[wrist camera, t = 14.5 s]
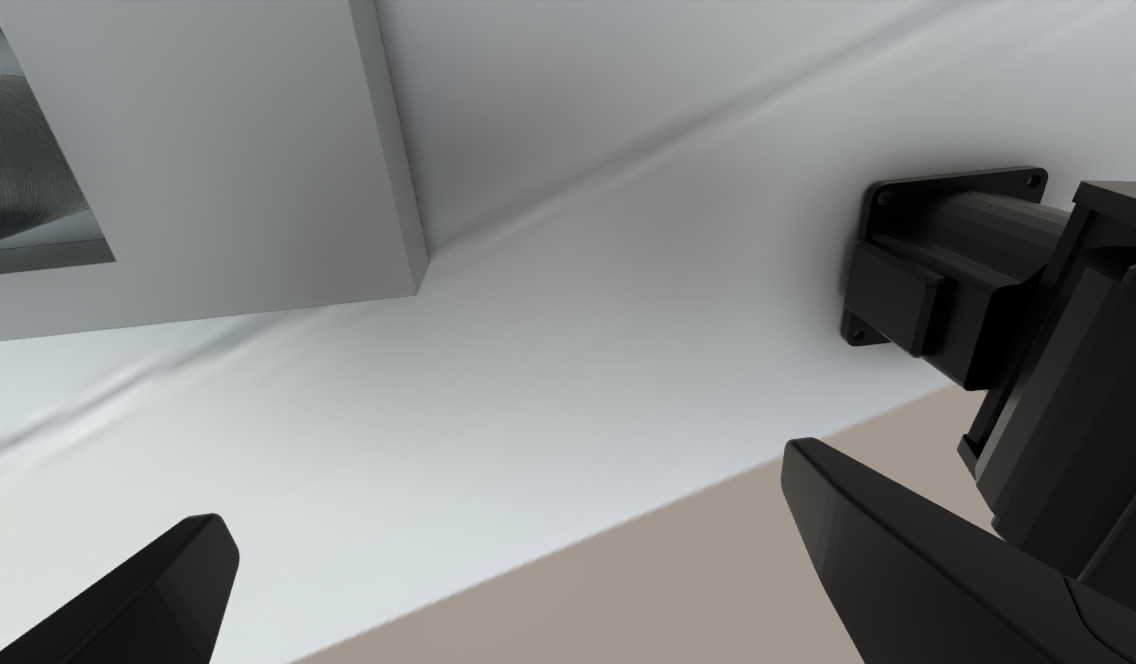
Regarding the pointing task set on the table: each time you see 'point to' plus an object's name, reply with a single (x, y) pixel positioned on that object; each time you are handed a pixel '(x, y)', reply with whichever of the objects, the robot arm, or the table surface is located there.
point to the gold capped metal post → (31, 164)
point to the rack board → (214, 162)
